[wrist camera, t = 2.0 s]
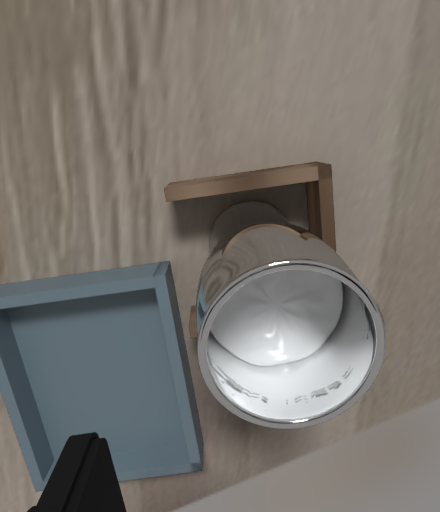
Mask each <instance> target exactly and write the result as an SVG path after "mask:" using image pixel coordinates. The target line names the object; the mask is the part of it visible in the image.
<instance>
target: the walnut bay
mask: <svg viewBox="0 0 440 512" xmlns="http://www.w3.org/2000/svg"><path fill="white" fill-rule="evenodd" d="M302 182H306V192H307V205H308V218H309V231H310V232H312V233H313V234H315V235H316V236H317V237H319V238H320V239H321V240H323V241H324V242H325V243H327V244H328V245H329V246H330V247H331V248H332V249H333V250H334V251H335V252H336V239H335V222H334V205H333V187H332V170H331V164H325V163H320V162H311V163H304V164H297V165H290V166H283V167H276V168H270V169H263V170H256V171H249V172H242V173H235V174H228V175H221V176H214V177H207V178H200V179H193V180H186V181H179V182H173V183H169V184H168V185H167V186H166V187H165V188H164V192H165V198H166V202H169V201H176V200H183V199H190V198H197V197H204V196H211V195H218V194H225V193H232V192H239V191H246V190H253V189H260V188H267V187H274V186H281V185H288V184H295V183H302ZM189 331H190V337H191V338H195V337H197V329H196V305H195V306H192V307H191V315H190V322H189Z"/></svg>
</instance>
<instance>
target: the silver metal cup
mask: <svg viewBox="0 0 440 512" xmlns="http://www.w3.org/2000/svg"><path fill="white" fill-rule="evenodd" d="M209 251H210V254H209V256H208V258H207V260H206V262H205V264H204V266H203V268H202V271H201V274H200V279H199V284H198V289H197V295H196V329H197V340H198V342H197V356H198V363H199V367H200V371H201V374H202V377H203V379H204V381H205V383H206V385H207V387H208V389H209V390H210V392H211V393H212V394H213V396H214V397H215V398H216V399H217V400H218V401H219V403H220V404H222V405H223V406H224V407H225V408H226V409H227V410H229V411H230V412H232V413H233V414H235V415H236V416H238V417H240V418H242V419H244V420H246V421H248V422H251V423H253V424H256V425H260V426H264V427H269V428H277V429H295V428H303V427H309V426H313V425H316V424H320V423H323V422H325V421H328V420H330V419H332V418H334V417H336V416H338V415H340V414H341V413H343V412H345V411H346V410H347V409H349V408H350V407H351V406H353V405H354V404H355V403H356V402H357V401H358V400H359V399H360V398H361V397H362V396H363V395H364V394H365V393H366V392H367V391H368V389H369V388H370V387H371V385H372V384H373V382H374V380H375V379H376V377H377V375H378V373H379V371H380V368H381V365H382V362H383V359H384V355H385V349H386V330H385V324H384V320H383V316H382V313H381V311H380V308H379V306H378V304H377V302H376V301H375V299H374V297H373V296H372V295H371V293H370V292H369V291H368V290H367V288H366V287H365V286H364V285H363V284H362V283H361V282H360V281H359V280H358V278H357V277H356V275H355V274H354V273H353V272H352V270H351V269H350V268H349V266H348V265H347V264H346V263H345V262H344V260H343V259H342V258H341V257H340V256H339V255H338V254H337V253H336V252H335V251H334V250H333V249H332V248H331V247H330V246H329V245H328V244H327V243H325V242H324V241H323V240H321V239H320V238H319V237H317V236H316V235H315V234H313V233H312V232H310V231H308V230H306V229H304V228H302V227H300V226H297V225H294V224H292V223H290V222H289V221H288V219H287V218H286V216H285V215H284V214H283V213H282V212H281V211H280V210H279V209H277V208H276V207H274V206H272V205H270V204H268V203H264V202H260V201H246V202H241V203H238V204H235V205H233V206H231V207H229V208H228V209H226V210H225V211H224V212H223V213H222V214H221V215H220V216H219V217H218V218H217V220H216V221H215V223H214V225H213V227H212V229H211V232H210V237H209Z"/></svg>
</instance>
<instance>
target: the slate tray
mask: <svg viewBox="0 0 440 512" xmlns="http://www.w3.org/2000/svg"><path fill="white" fill-rule="evenodd" d="M0 391H1V394H2V397H3V399H4V402H5V405H6V408H7V411H8V414H9V417H10V419H11V422H12V425H13V428H14V431H15V434H16V437H17V440H18V442H19V445H20V448H21V451H22V454H23V457H24V460H25V462H26V465H27V468H28V471H29V474H30V477H31V480H32V482H33V485H34V488H35V491H36V492H38V491H44V488H45V486H46V484H47V482H48V480H49V478H50V476H51V474H52V471H53V469H54V467H55V465H56V463H57V461H58V459H59V456H60V454H61V452H62V450H63V448H64V446H65V444H66V441H67V440H68V438H69V437H70V436H71V435H78V434H85V433H92V432H96V433H97V434H98V435H99V438H106V440H107V442H108V446H109V450H110V453H111V457H112V461H113V464H114V468H115V472H116V475H117V479H118V481H125V480H133V479H141V478H149V477H157V476H165V475H173V474H181V473H188V472H196V471H202V464H203V438H202V432H201V427H200V421H199V416H198V411H197V405H196V400H195V394H194V389H193V384H192V378H191V373H190V367H189V362H188V357H187V351H186V346H185V340H184V335H183V330H182V324H181V319H180V313H179V308H178V303H177V297H176V292H175V286H174V281H173V276H172V270H171V265H170V261H167V262H160V263H153V264H145V265H138V266H131V267H124V268H117V269H110V270H102V271H95V272H88V273H81V274H74V275H67V276H59V277H52V278H45V279H38V280H31V281H24V282H16V283H9V284H2V285H0Z"/></svg>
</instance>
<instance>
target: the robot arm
mask: <svg viewBox="0 0 440 512" xmlns="http://www.w3.org/2000/svg"><path fill="white" fill-rule="evenodd" d="M27 512H126V509H125V505H124V501H123V498H122V494H121V490H120V487H119V483H118V479H117V475H116V472H115V468H114V464H113V461H112V457H111V453H110V450H109V446H108V442H107V440H106V438H99V435H98V434H97V433H96V432H92V433H85V434H78V435H71V436H70V437H69V438H68V440H67V441H66V444H65V446H64V448H63V450H62V452H61V454H60V456H59V459H58V461H57V463H56V465H55V467H54V469H53V471H52V474H51V476H50V478H49V480H48V482H47V484H46V486H45V488H44V491H43V493H42V495H41V497H40V499H39V501H38V503H37V506H33V507H32V508H30V509H29V510H28V511H27Z"/></svg>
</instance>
